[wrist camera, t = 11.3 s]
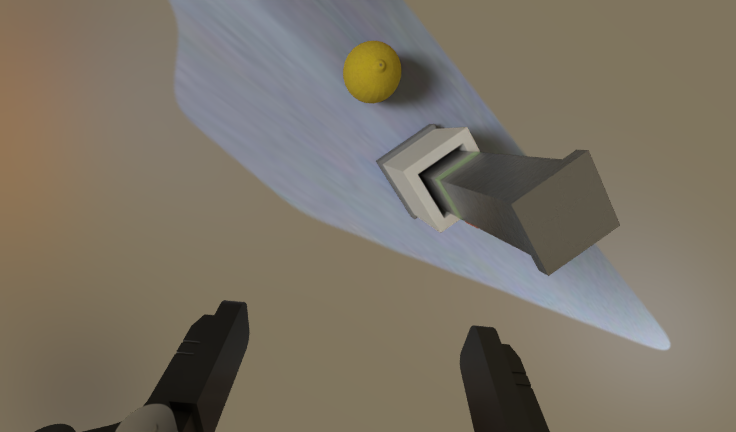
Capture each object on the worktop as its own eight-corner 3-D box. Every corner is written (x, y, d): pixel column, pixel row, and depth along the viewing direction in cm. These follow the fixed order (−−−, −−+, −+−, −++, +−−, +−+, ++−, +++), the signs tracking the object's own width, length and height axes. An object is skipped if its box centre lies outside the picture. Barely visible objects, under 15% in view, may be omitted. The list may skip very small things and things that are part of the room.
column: (410, 171, 33) (511, 204, 17) (451, 144, 33) (588, 150, 17) (434, 211, 35) (548, 275, 19) (473, 184, 35) (620, 225, 19)
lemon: (399, 83, 38) (423, 70, 30) (362, 116, 38) (376, 112, 31) (367, 40, 37) (384, 15, 29) (328, 75, 37) (335, 59, 29)
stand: (375, 161, 40) (403, 170, 28) (429, 124, 40) (477, 119, 29) (412, 218, 42) (451, 247, 31) (462, 183, 42) (519, 199, 31)
